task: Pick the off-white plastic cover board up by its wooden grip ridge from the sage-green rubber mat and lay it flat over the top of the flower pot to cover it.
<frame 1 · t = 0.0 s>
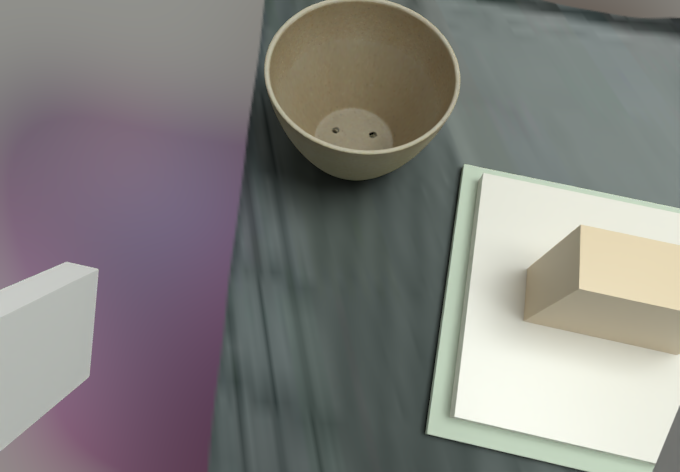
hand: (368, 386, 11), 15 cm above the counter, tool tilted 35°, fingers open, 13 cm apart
cover board: (590, 314, 27), resting on mat
mat: (585, 317, 28), on the counter
flower pot: (353, 147, 32), on the counter
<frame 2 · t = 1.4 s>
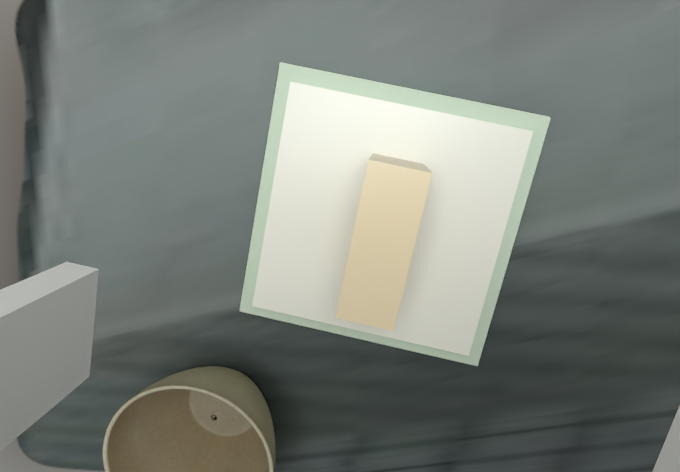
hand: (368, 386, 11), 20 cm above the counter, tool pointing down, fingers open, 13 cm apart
cover board: (383, 221, 30), resting on mat
mat: (383, 219, 31), on the counter
flower pot: (227, 397, 35), on the counter
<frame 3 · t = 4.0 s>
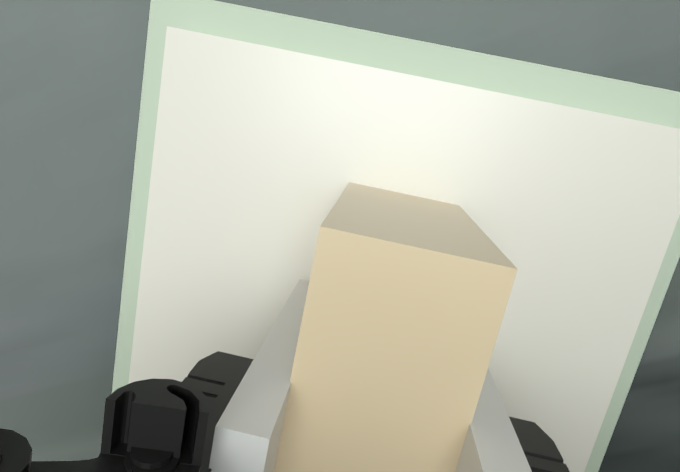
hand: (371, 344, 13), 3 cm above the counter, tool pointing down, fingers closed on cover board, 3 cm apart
cover board: (373, 315, 15), resting on mat, touching gripper
mat: (374, 309, 16), on the counter
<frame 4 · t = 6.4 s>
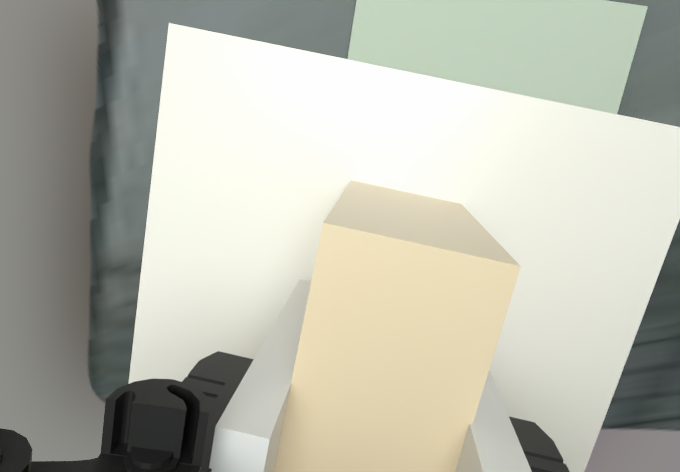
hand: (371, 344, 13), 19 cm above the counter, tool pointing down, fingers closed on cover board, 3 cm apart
cover board: (374, 314, 15), point 17 cm above the counter, touching gripper
mat: (469, 128, 30), on the counter
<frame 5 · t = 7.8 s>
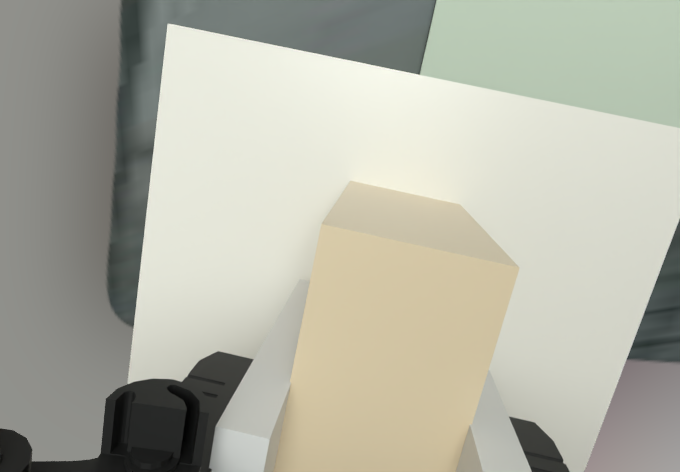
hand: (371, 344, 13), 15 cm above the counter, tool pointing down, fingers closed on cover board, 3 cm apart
cover board: (373, 315, 15), point 13 cm above the counter, touching gripper
when the fingers open (11 cm above the counter, at t = 9.0 s): cover board drops 1 cm, resting on flower pot.
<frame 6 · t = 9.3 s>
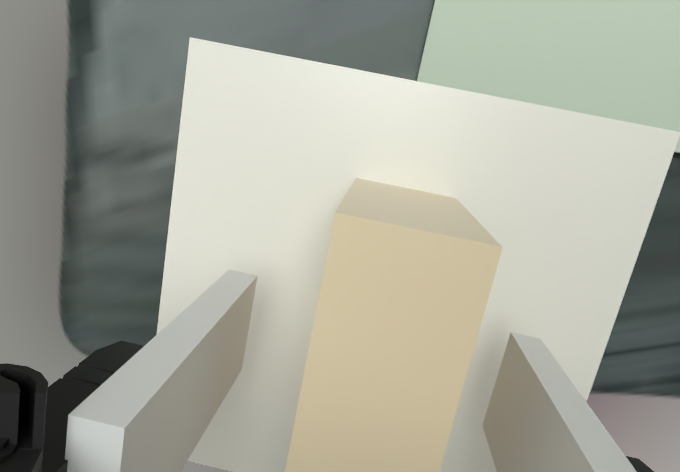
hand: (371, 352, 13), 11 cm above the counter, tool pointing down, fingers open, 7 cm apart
cover board: (378, 300, 16), point 7 cm above the counter, touching flower pot
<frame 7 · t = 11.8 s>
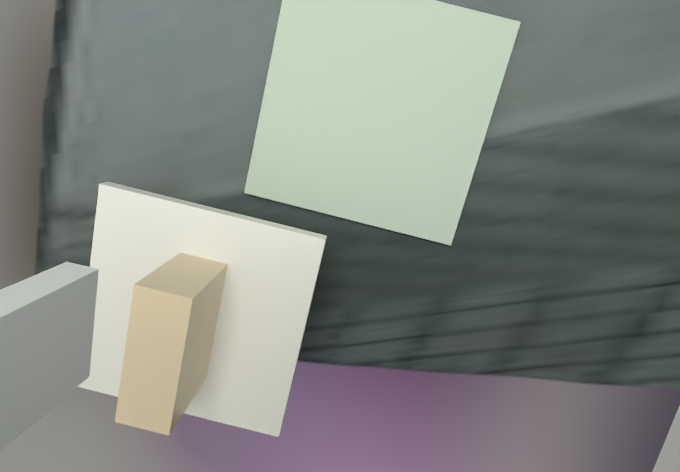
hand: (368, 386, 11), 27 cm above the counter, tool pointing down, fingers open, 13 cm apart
cover board: (199, 311, 32), point 7 cm above the counter, touching flower pot
mat: (374, 112, 35), on the counter
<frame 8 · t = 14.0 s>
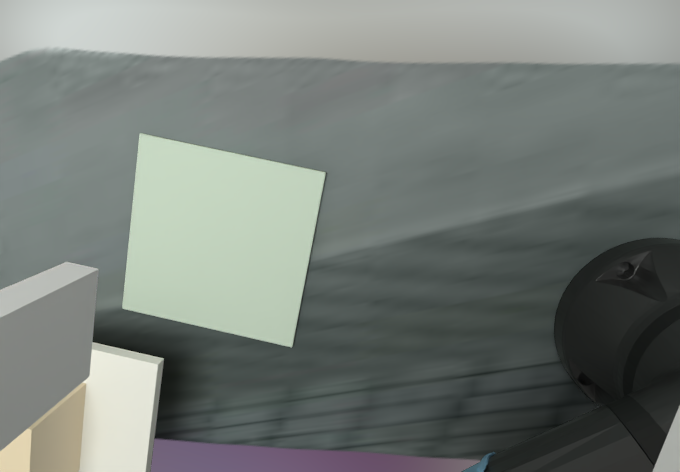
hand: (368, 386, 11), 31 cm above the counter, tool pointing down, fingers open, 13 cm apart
cover board: (72, 416, 40), point 7 cm above the counter, touching flower pot
mat: (220, 242, 43), on the counter
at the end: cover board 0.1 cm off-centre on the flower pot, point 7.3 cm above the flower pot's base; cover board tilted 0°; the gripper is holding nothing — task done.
